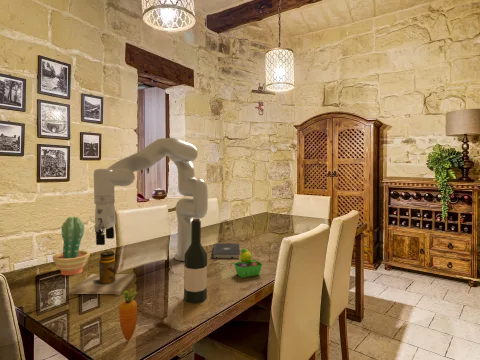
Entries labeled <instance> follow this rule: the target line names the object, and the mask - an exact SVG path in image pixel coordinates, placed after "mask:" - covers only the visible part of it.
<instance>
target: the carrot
mask: <svg viewBox="0 0 480 360" xmlns="http://www.w3.org/2000/svg"><path fill="white" fill-rule="evenodd" d="M133 289H134V288H133V287H131V288H130V289H129V291H128V290H123V291H122V295H123V296H124V300H123V301H122V302H121V303H119V305H118V316H119V317H118V318H119V323H120V329H121V330H120V331H121V333H122V335H123V337H124V338H125V340H126V341H128V342H130V340H131V339H132V338H133V335H134V333H135V330H136V326H137V320H138V304H137V301H135V299H134V296H136V295H137V294H138V292H137V291H135V292H133Z"/></svg>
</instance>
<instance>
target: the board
mask: <svg viewBox="0 0 480 360" xmlns="http://www.w3.org/2000/svg"><path fill="white" fill-rule="evenodd" d="M134 274H135V273H116V274H115V279H116V280H117V281H118V283H114V284H109V285H102V286H97V287H95V285H94V283H93V281H92V280H98V279H100V276H99V273H92V274H90V275H88V276H87V278H85V279H84V280H82V282H81V283H79V284H78V285H76V286H75V287H74V288H73V289H72V290H71V294H70V295H72V296H73V294H115V295H114V296H120V295H121V294H123V292H124V291H125V289H126V288H127V286H128V285H129V284H130V283H131V282H132V281H133V280H134V278H135V275H134Z"/></svg>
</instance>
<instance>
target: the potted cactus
mask: <svg viewBox="0 0 480 360" xmlns="http://www.w3.org/2000/svg"><path fill="white" fill-rule="evenodd" d="M60 228H61V238H62V240H63V241H62V242H63V249H62V251H61V252H57V253H55V254H53V255H52V257H51V259H52V260H53V262H54V263H55V265H56V266H57V267H56V268H57V269H58V270H59V271H60V274H61V275H63V276H72V275H73V276H74V275H78V274H81V273H82V272H83V270H84V267H85V266H86V264H87V261H88V258H89V259H90V256H91V251H89V250H85V249H80V246H81V243H82V242H81V241H82V239H83V236H84V234H85V224H84V223H83V221H82V220H81V219H80V217H79V216H73V217H71V216H69V217H67V218H66V219H65V221H64V222H63V223H62V225H61V227H60Z"/></svg>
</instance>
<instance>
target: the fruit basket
mask: <svg viewBox="0 0 480 360" xmlns="http://www.w3.org/2000/svg"><path fill="white" fill-rule="evenodd" d="M252 256H253V255H252V253H251V252H250V251H249V250H248V249H246V248H242V249H241V251H240V256H239V260H240V261H238V262H234V263H233V265H234V267H235V271H236V275H238V276H239V277H241V279H242V278H247V277H248V278H249V277H253V276H260V273H261V269H262V267H263V263H261V262H260V261H258V260H256V259H252V258H253V257H252Z"/></svg>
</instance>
